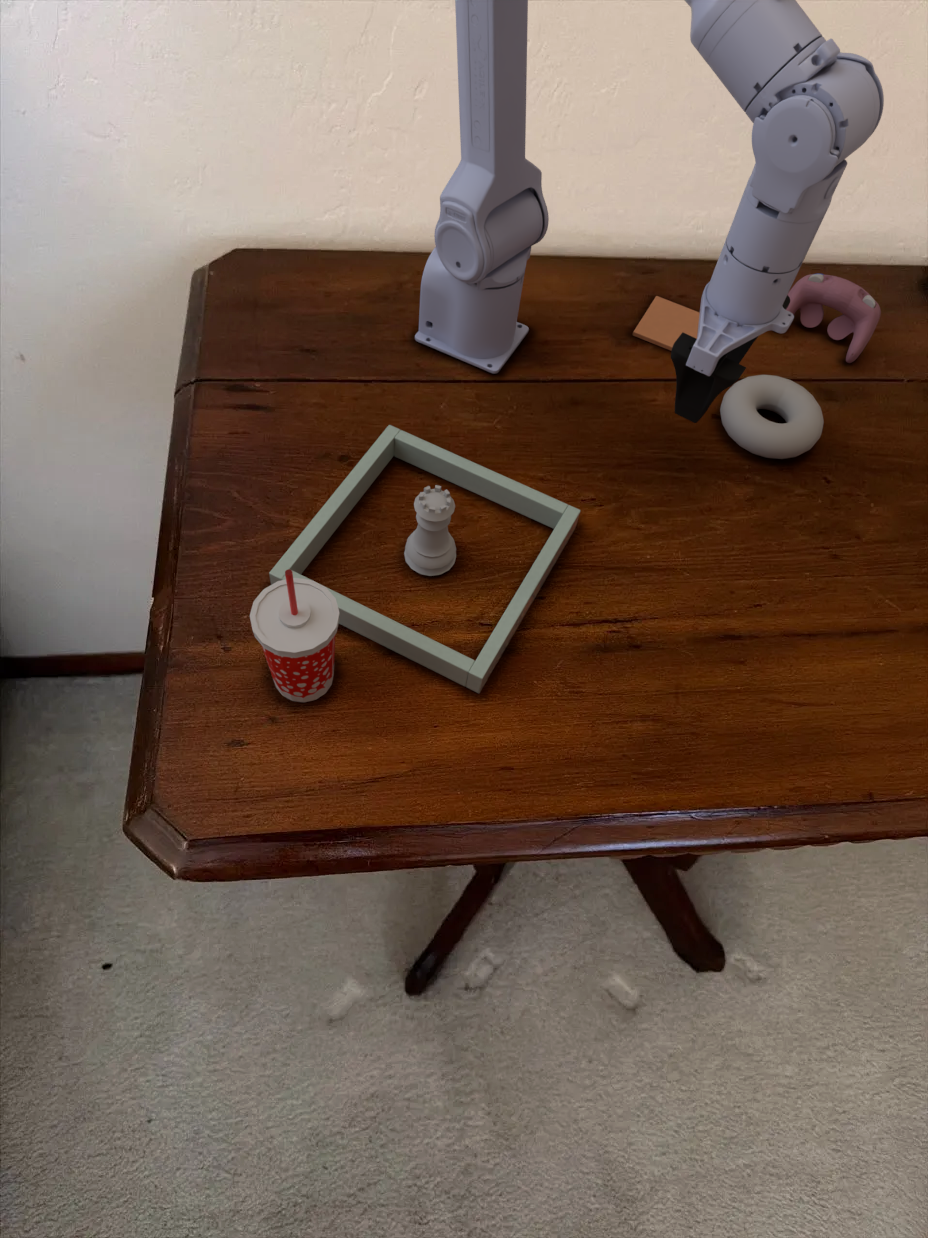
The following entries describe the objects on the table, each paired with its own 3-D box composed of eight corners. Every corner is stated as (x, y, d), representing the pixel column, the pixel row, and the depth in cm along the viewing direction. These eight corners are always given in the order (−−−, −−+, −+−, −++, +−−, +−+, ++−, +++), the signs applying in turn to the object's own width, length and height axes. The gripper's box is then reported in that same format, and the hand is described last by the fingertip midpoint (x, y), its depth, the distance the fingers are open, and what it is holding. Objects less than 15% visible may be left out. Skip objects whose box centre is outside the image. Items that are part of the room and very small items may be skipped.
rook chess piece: (396, 544, 76) (398, 483, 69) (444, 531, 77) (450, 469, 70) (415, 585, 74) (419, 526, 67) (464, 570, 75) (472, 510, 68)
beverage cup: (282, 632, 70) (263, 523, 58) (355, 655, 70) (350, 549, 58) (250, 697, 67) (223, 596, 55) (326, 721, 67) (315, 624, 55)
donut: (712, 455, 85) (816, 475, 84) (724, 429, 82) (831, 450, 81) (717, 385, 90) (814, 403, 90) (728, 358, 87) (828, 377, 87)
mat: (632, 335, 93) (633, 331, 93) (655, 299, 97) (656, 295, 96) (693, 360, 92) (695, 356, 91) (714, 322, 95) (716, 318, 95)
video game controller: (856, 361, 96) (893, 298, 92) (853, 367, 93) (891, 302, 89) (773, 323, 98) (806, 260, 95) (767, 327, 95) (801, 262, 91)
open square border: (271, 590, 72) (268, 572, 70) (388, 443, 82) (389, 423, 80) (479, 694, 69) (482, 679, 67) (575, 527, 79) (581, 509, 76)
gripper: (779, 324, 59) (714, 462, 71) (848, 222, 66) (778, 362, 78) (685, 282, 61) (636, 423, 72) (762, 187, 68) (706, 329, 79)
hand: (705, 389), depth 75 cm, fingers open, 7 cm apart
